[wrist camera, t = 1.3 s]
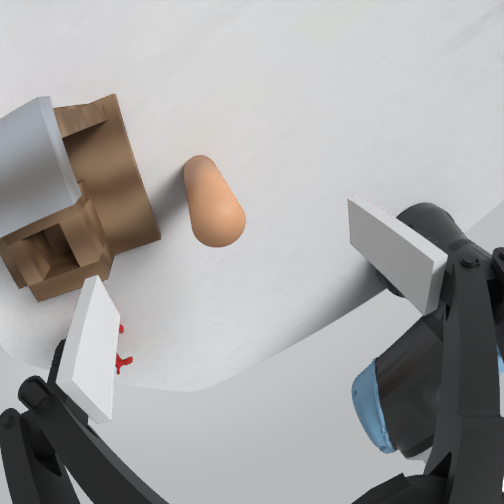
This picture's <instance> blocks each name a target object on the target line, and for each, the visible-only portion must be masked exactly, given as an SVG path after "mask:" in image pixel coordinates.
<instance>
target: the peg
mask: <svg viewBox="0 0 504 504" xmlns="http://www.w3.org/2000/svg"><path fill="white" fill-rule="evenodd" d="M183 175H184V181H185V188H186V195H187V201H188V207H189V213H190V220H191V225H192V230H193V233H194V235H195V237H196V238H197V239H198V240H199V241H200V242H201V243H203V244H204V245H207V246H209V247H224V246H227V245H230V244H232V243H233V242H235V241H236V240H237V239H238V238H239V237H240V236H241V234H242V233H243V231H244V228H245V223H246V218H245V213H244V211H243V209H242V207H241V206H240V204H239V202H238V201H237V199H236V198H235V196H234V194H233V193H232V191H231V189H230V188H229V186H228V185H227V183H226V181H225V180H224V178H223V177H222V175H221V173H220V172H219V170H218V169H217V167H216V165H215V164H214V162H213V161H212V160H211V159H210V158H208V157H206V156H202V155H199V156H194V157H192V158H191V159H189V160H188V161H187V162H186V164H185V166H184V169H183Z"/></svg>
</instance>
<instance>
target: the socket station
mask: <svg viewBox="0 0 504 504" xmlns="http://www.w3.org/2000/svg"><path fill="white" fill-rule="evenodd" d="M160 239H161V233H160V230H159V228H158V225H157V222H156V220H155V217H154V214H153V211H152V209H151V206H150V203H149V200H148V197H147V194H146V191H145V188H144V186H143V183H142V180H141V177H140V174H139V171H138V167H137V164H136V161H135V158H134V155H133V152H132V149H131V146H130V142H129V139H128V136H127V132H126V129H125V126H124V122H123V119H122V115H121V112H120V108H119V105H118V101H117V98H116V94H111V95H109V96H106V97H104V98H101V99H99V100H96V101H94V102H91V103H89V104H82V105H73V106H65V107H58V108H53V107H52V104H51V100H50V96H47V97H37V98H35V99H33V100H32V101H30V102H28V103H26V104H24V105H23V106H21V107H19V108H18V109H16V110H14V111H13V112H11V113H9V114H8V115H6V116H4V117H3V118H1V119H0V255H1V257H2V259H3V261H4V263H5V265H6V267H7V268H8V270H9V272H10V274H11V276H12V277H13V279H14V281H15V282H16V284H17V286H18V288H19V289H20V288H23V287H25V286H29V288H30V290H31V291H32V293H33V295H34V296H35V298H36V299H37V301H38V302H40V301H43V300H46V299H49V298H52V297H55V296H58V295H61V294H64V293H67V292H70V291H73V290H76V289H79V288H82V287H83V284H84V281H85V279H87V278H90V277H93V276H96V275H98V276H99V278H100V279H101V281H104V280H107V279H108V277H109V274H110V270H111V266H112V263H113V259H114V256H115V254H118V253H121V252H124V251H127V250H130V249H133V248H136V247H139V246H142V245H145V244H148V243H151V242H154V241H157V240H160Z"/></svg>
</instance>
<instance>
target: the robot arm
mask: <svg viewBox="0 0 504 504" xmlns="http://www.w3.org/2000/svg"><path fill="white" fill-rule="evenodd" d="M348 212H349V228H350V244H351V245H352V246H353V247H354V248H356V249H357V250H358V251H359V252H360V253H361V254H362V255H363V256H364V257H365V258H366V259H367V260H368V261H369V262H370V263H371V264H372V265H374V266H375V267H376V268H377V274H378V277H379V279H380V281H381V282H382V284H383V285H384V286H385V287H386V288H387V289H389V291H390V292H392V293H393V294H395V295H397V296H399V297H404V298H406V299H408V300H409V301H410V302H411V303H412V304H413V305H414V306H415V307H416V308H417V309H418V310H419V311H420V312H421V313H422V314H423V316H422V317H421V318H420V319H419V320H418V321H417V322H416V323H415V324H414V325H413V326H412V327H411V328H410V329H409V330H407V331H406V332H405V333H404V334H403V335H402V336H401V337H400V338H399V339H398V340H397V341H396V342H395V343H394V344H393V345H391V347H389V348H388V349H387V350H386V351H385V352H384V353H383V354H382V355H380V356H379V357H378V358H375V359H373V361H372V363H371V364H370V365H369V366H368V367H367V368H366V369H365V370H364V371H363V372H361V373H360V374H359V375H358V376H357V377H356V378H355V380H354V382H353V385H352V399H353V404H354V407H355V410H356V413H357V415H358V418H359V420H360V422H361V424H362V426H363V428H364V430H365V432H366V433H367V435H368V436H369V438H370V440H371V441H372V442H373V444H374V445H375V446H377V447H379V449H380V451H382V452H383V453H391V452H395V451H396V450H397V449H398V450H400V451H401V453H402V454H403V455H404V457H405V458H406V459H407V460H423V461H424V462H425V464H426V466H425V469H424V473H423V475H414V476H408V477H405V476H404V474H403V473H401V474H399V475H398V476H395V477H394V478H392V479H390V480H388V481H386V482H384V483H382V484H380V485H378V486H376V487H374V488H372V489H370V490H369V491H368V492H366V493H365V494H364V495H363V496H361V497H360V498H358V499H357V500H356V501H355V502H353V503H352V504H504V417H501V415H500V387H499V376H500V374H501V373H502V372H503V371H504V247H499V248H496V249H494V250H493V254H492V255H491V254H490V253H488V252H487V251H485V250H484V249H482V248H481V247H479V246H478V245H476V244H475V243H474V242H472V241H471V240H469V239H468V238H467V237H466V236H465V235H464V233H463V232H462V231H461V229H460V228H459V227H458V226H457V225H456V223H455V222H454V220H453V218H452V217H451V216H450V214H449V213H448V212H446V211H445V210H443V209H442V208H440V207H438V206H436V205H435V204H432V203H420V204H417V205H414V206H412V207H410V208H408V209H407V210H405V211H404V212H403V213H402V214H401V215H399V216H398V217H397V218H395V217H394V216H392V215H391V214H389V213H388V212H386V211H384V210H383V209H381V208H380V207H378V206H377V205H375V204H374V203H372V202H371V201H369V200H367V199H366V198H364V197H363V196H361V195H357V196H353V197H350V198H348ZM120 317H121V316H120V314H119V312H118V310H117V309H116V307H115V305H114V303H113V302H112V300H111V298H110V296H109V294H108V293H107V291H106V289H105V287H104V285H103V283H102V281H101V279H100V278H99V276H98V275H96V276H93V277H90V278H87V279H85V281H84V284H83V287H82V290H81V293H80V296H79V299H78V302H77V305H76V308H75V312H74V315H73V318H72V321H71V325H70V328H69V332H68V335H67V339H64V340H61V342H60V343H59V345H58V346H57V348H56V350H55V354H54V357H53V358H54V360H53V361H52V365H51V366H52V367H51V368H50V373H49V377H48V381H47V384H46V383H45V381H44V380H43V379H42V378H41V377H40V376H32V377H29V378H28V379H26V380H25V381H24V382H23V383H22V385H21V386H20V388H19V391H18V399H19V400H20V401H21V402H22V403H23V404H24V405H25V406H26V407H27V408H28V409H29V410H28V411H26V412H24V413H22V414H20V413H19V412H18V411H17V410H15V409H14V408H9V409H6V410H5V411H4V412H3V413H2V414H1V415H0V448H1V454H2V460H3V465H4V470H5V475H6V479H7V483H8V488H9V492H10V495H11V499H12V503H13V504H80V502H79V500H78V498H77V495H76V493H75V491H74V488H73V486H72V483H71V481H70V479H69V476H68V474H67V471H66V469H65V466H66V468H67V469H68V471H69V472H70V473H71V475H72V476H73V478H74V479H75V480H76V482H77V483H78V484H79V485H80V487H81V488H82V489H83V491H84V492H85V493H86V495H87V496H88V497H89V498H90V500H91V501H92V502H93V503H94V504H169V503H167V502H166V501H165V500H164V499H163V498H161V497H160V496H159V495H158V494H157V493H156V492H155V491H153V490H152V489H151V488H150V487H149V486H148V485H147V484H146V483H144V482H143V481H142V480H141V479H140V478H139V477H138V476H137V475H136V474H135V473H134V472H133V471H132V470H131V469H130V468H129V467H128V466H127V465H126V464H124V462H123V461H121V459H120V458H119V457H118V456H117V455H116V454H115V453H114V452H113V451H112V450H111V449H110V448H109V447H108V446H107V445H106V444H105V442H104V441H103V440H102V439H101V438H100V437H99V436H98V435H97V433H96V432H95V431H94V430H93V429H92V428H91V427H90V426H89V425H88V416H89V417H90V418H91V419H92V420H93V421H94V422H95V423H104V422H109V421H112V407H113V389H114V375H115V363H116V352H117V342H118V334H119V325H120ZM64 465H65V466H64Z"/></svg>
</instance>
